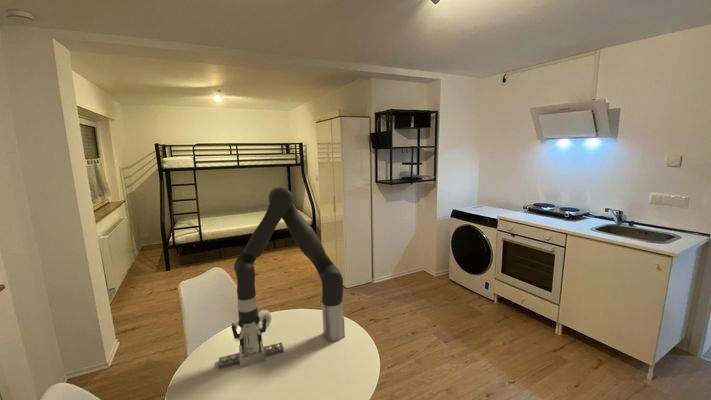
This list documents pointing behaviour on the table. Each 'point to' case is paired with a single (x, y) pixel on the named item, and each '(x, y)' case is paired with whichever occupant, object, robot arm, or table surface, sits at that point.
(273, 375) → the table surface
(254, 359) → the mounting bracket
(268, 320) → the donut
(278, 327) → the table surface
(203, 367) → the table surface
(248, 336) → the energy drink can
